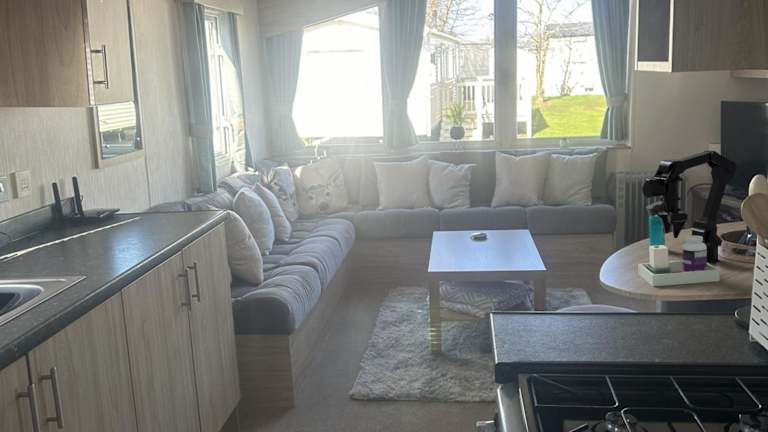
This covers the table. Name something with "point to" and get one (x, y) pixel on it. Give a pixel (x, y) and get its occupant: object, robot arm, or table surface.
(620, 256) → the table surface
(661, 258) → the carton
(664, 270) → the tin
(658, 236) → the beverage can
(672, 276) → the tote
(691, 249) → the pill bottle
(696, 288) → the table surface
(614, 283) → the table surface
